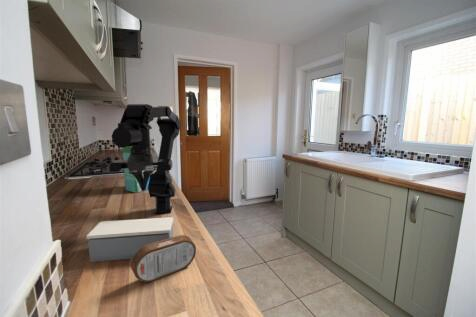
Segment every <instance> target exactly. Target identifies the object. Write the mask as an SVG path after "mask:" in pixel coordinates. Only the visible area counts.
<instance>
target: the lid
mask: <svg viewBox="0 0 476 317" xmlns="http://www.w3.org/2000/svg"><path fill="white" fill-rule="evenodd" d="M172 223H174V217H173V216H171V217H156V218H155V217H153V218H139V219H138V218H137V219H122V220H121V219H120V220H106V221H105V220H104V221H100V222H99V223H97V224H96V226H95V227H94V228H93V229H92V230H90V231H89V232H88V233H87V235H86V239H87V240H89V239H92V238H106V237H120V236H133V235H147V234H161V233H170V231H171V227H172Z"/></svg>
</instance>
